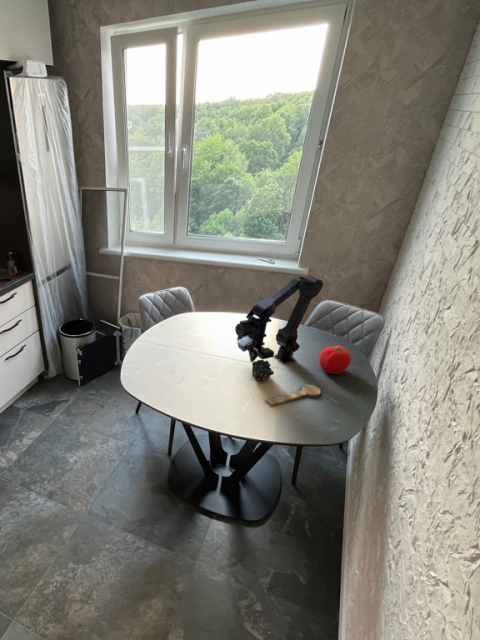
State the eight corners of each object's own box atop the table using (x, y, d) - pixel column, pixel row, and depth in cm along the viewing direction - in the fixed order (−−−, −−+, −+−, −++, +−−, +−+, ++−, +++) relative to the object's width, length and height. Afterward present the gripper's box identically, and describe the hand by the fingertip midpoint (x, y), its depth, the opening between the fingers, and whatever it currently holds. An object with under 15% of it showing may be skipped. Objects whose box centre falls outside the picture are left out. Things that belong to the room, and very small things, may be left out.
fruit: (255, 348, 180) (260, 365, 168) (272, 354, 180) (278, 372, 167) (246, 363, 185) (250, 381, 172) (263, 369, 185) (268, 387, 172)
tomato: (311, 371, 179) (318, 349, 172) (322, 359, 187) (328, 337, 180) (341, 381, 172) (349, 358, 165) (350, 368, 179) (358, 345, 173)
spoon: (310, 385, 170) (311, 383, 169) (323, 394, 164) (324, 392, 164) (264, 399, 164) (264, 396, 163) (275, 408, 158) (276, 406, 158)
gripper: (229, 325, 179) (224, 355, 187) (255, 345, 164) (249, 376, 173) (250, 321, 181) (245, 350, 190) (278, 339, 167) (270, 370, 175)
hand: (251, 361), depth 182 cm, fingers closed
